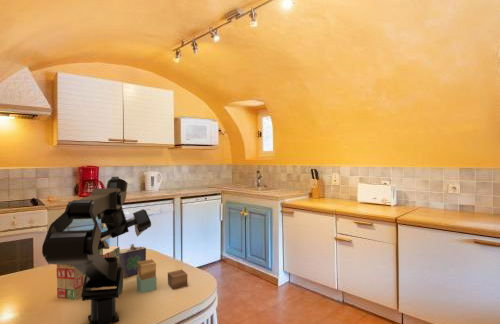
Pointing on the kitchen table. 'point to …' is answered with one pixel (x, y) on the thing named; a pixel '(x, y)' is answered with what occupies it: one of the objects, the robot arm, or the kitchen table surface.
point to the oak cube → (146, 269)
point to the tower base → (146, 285)
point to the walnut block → (177, 279)
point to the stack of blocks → (77, 276)
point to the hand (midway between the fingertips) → (123, 241)
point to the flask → (131, 260)
